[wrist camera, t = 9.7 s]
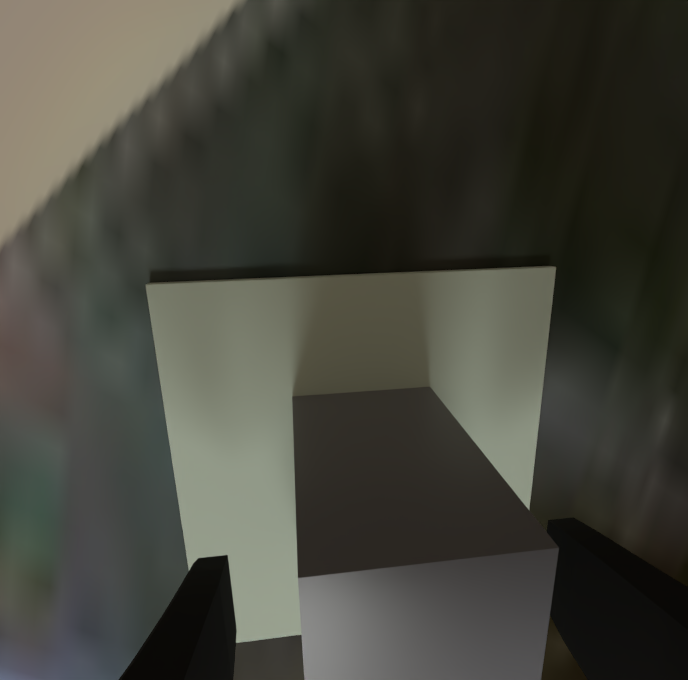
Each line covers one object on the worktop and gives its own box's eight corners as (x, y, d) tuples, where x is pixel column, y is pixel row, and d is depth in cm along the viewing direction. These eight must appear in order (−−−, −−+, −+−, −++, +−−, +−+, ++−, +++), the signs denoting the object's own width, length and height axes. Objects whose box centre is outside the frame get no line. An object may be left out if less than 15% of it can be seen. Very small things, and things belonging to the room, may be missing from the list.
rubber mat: (514, 598, 16) (518, 606, 16) (202, 639, 15) (200, 647, 15) (550, 265, 13) (556, 267, 13) (149, 282, 12) (145, 284, 11)
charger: (425, 530, 15) (528, 770, 8) (301, 543, 14) (313, 807, 8) (430, 386, 13) (559, 547, 7) (292, 396, 13) (298, 578, 6)
